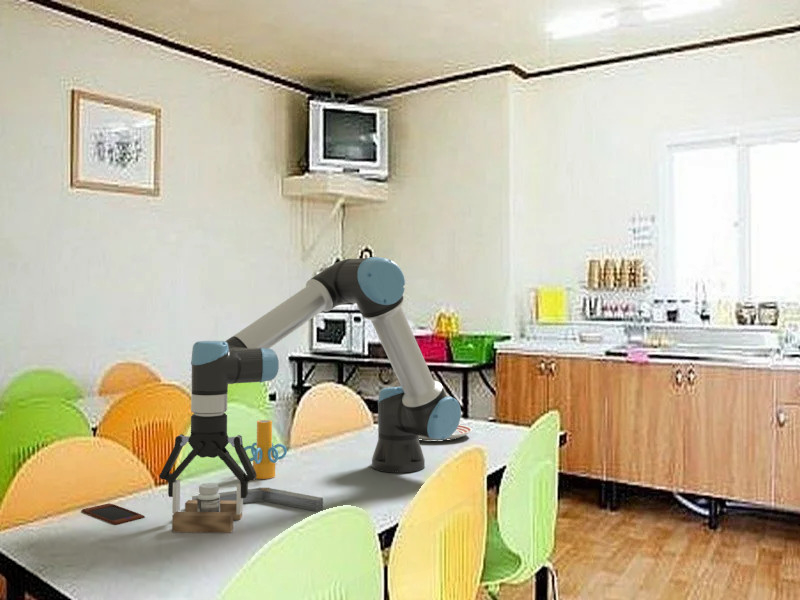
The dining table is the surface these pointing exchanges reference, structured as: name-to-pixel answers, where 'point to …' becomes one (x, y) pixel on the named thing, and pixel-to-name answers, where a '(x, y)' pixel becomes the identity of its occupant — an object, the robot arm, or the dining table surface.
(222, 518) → the wooden blocks
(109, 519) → the smartphone
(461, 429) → the dinner plate
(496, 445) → the dining table surface
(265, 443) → the cylinder
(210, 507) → the pill bottle
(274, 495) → the v block
